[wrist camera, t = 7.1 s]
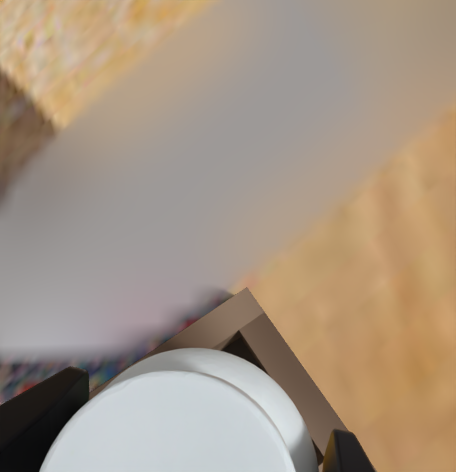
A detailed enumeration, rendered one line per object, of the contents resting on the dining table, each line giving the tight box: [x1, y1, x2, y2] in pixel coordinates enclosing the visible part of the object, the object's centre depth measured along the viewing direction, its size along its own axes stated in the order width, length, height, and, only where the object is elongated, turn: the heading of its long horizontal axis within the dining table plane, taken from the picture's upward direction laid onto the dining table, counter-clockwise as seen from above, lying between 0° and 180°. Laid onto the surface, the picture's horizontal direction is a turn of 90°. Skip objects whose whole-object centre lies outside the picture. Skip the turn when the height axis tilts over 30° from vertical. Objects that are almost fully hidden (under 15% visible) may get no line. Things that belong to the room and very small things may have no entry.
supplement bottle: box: [39, 348, 319, 472], centre depth 10 cm, size 5×5×10 cm
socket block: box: [89, 287, 377, 472], centre depth 19 cm, size 9×9×3 cm
